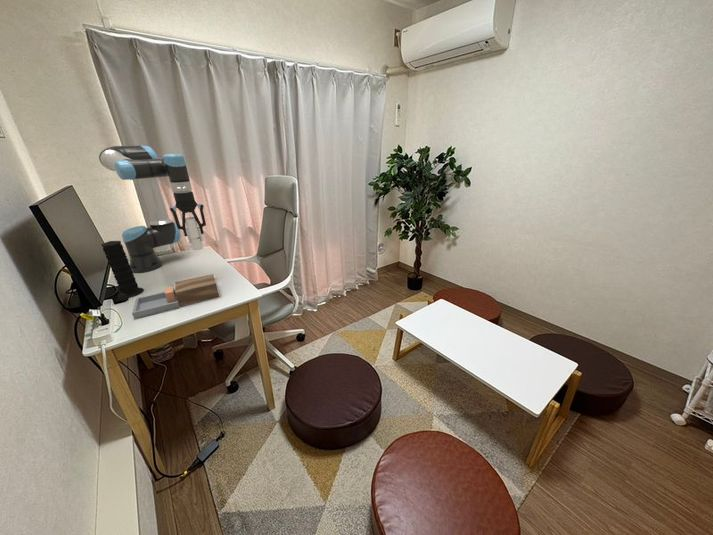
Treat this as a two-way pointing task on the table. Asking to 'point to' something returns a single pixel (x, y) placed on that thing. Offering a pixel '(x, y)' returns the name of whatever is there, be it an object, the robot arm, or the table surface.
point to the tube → (193, 233)
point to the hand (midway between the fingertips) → (196, 241)
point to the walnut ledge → (196, 290)
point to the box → (152, 305)
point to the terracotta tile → (170, 294)
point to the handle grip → (121, 269)
